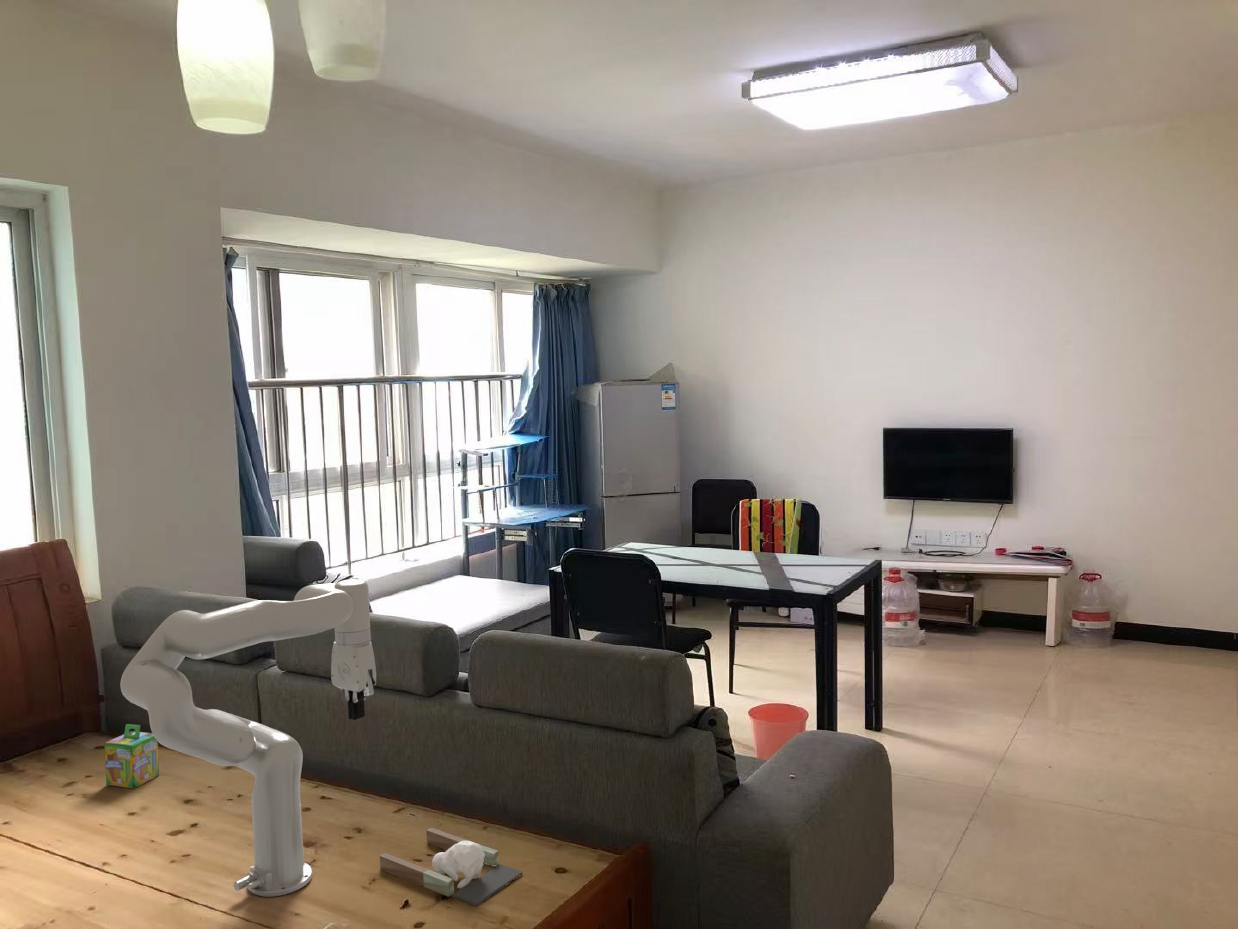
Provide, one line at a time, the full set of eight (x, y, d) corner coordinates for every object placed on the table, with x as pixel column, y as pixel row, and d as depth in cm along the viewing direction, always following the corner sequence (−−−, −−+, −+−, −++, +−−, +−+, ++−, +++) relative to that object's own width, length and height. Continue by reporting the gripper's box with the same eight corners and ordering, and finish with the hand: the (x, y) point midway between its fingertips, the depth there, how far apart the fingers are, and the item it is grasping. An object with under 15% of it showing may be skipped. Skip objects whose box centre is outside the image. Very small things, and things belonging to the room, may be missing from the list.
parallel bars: (448, 896, 190) (448, 882, 190) (380, 869, 201) (379, 856, 201) (498, 864, 202) (498, 851, 202) (431, 840, 214) (431, 827, 213)
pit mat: (476, 906, 187) (476, 903, 187) (454, 897, 190) (453, 894, 190) (522, 874, 198) (522, 871, 198) (500, 866, 201) (500, 864, 201)
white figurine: (466, 851, 191) (421, 843, 197) (470, 892, 191) (425, 883, 197) (485, 838, 196) (441, 830, 202) (490, 878, 196) (446, 869, 203)
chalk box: (105, 786, 247) (101, 730, 246) (133, 772, 256) (129, 718, 254) (134, 790, 244) (130, 733, 243) (161, 775, 253) (157, 721, 252)
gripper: (316, 636, 210) (320, 716, 211) (362, 645, 201) (366, 729, 203) (344, 628, 216) (347, 707, 217) (389, 637, 207) (393, 719, 209)
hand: (356, 717), depth 210 cm, fingers closed
